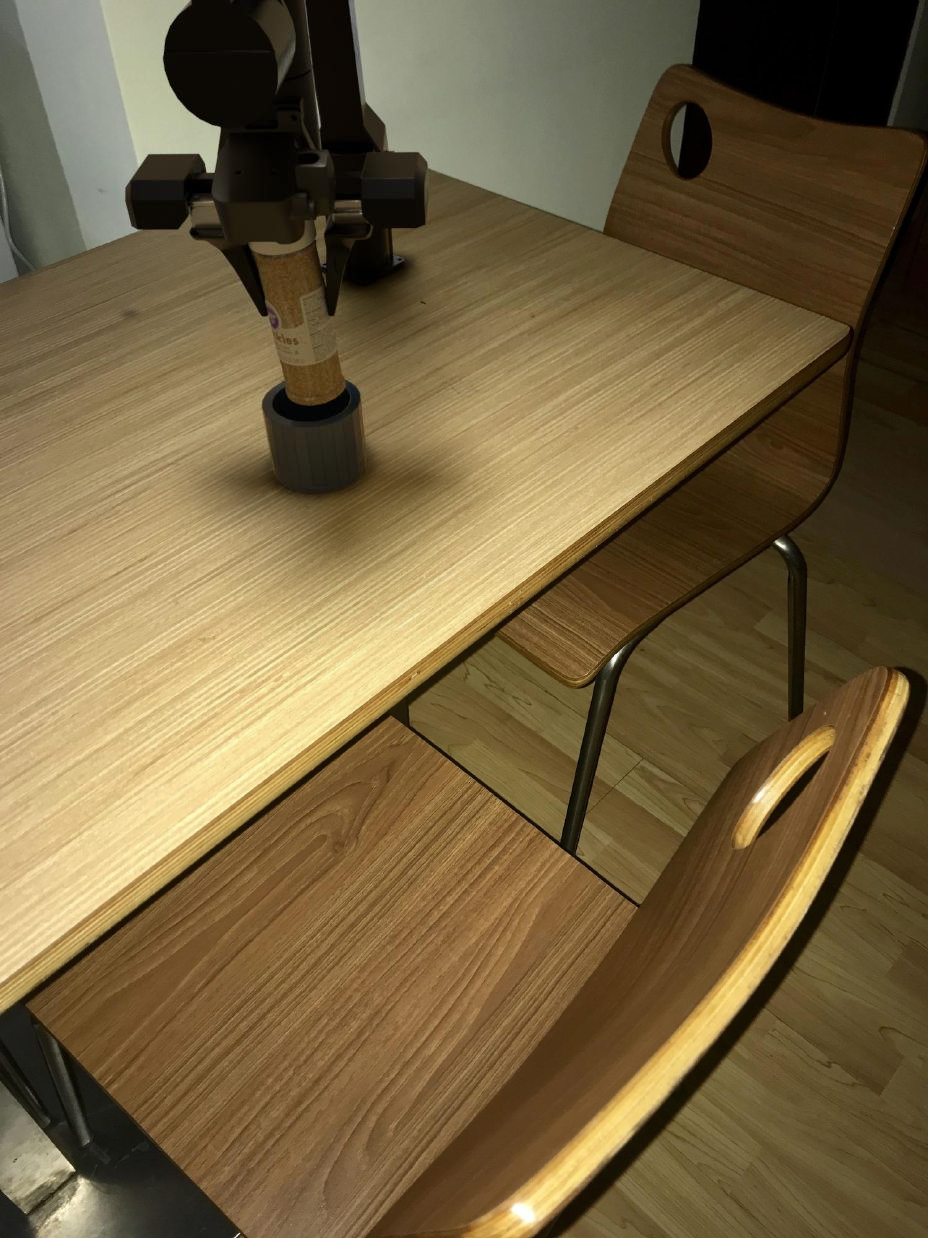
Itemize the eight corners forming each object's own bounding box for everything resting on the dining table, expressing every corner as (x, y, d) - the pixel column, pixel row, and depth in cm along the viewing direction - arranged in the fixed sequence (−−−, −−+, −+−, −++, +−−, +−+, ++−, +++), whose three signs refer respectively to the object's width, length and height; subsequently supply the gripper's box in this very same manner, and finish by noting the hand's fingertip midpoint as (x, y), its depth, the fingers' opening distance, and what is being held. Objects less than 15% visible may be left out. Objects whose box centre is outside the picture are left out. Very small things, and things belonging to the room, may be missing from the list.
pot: (319, 428, 82) (310, 363, 78) (386, 460, 79) (381, 394, 75) (254, 470, 78) (241, 405, 74) (321, 506, 75) (312, 439, 71)
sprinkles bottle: (274, 396, 74) (227, 217, 65) (318, 368, 76) (278, 192, 67) (316, 414, 72) (274, 232, 62) (360, 385, 74) (325, 205, 64)
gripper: (66, 116, 53) (137, 374, 64) (413, 113, 53) (426, 374, 64) (121, 54, 61) (176, 293, 72) (424, 51, 61) (433, 292, 71)
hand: (298, 313), depth 70 cm, fingers closed on sprinkles bottle, 4 cm apart
